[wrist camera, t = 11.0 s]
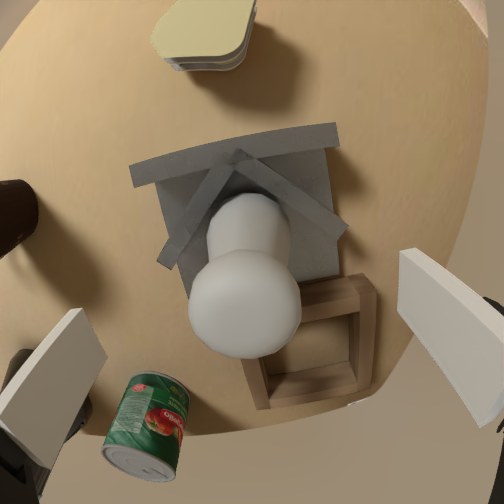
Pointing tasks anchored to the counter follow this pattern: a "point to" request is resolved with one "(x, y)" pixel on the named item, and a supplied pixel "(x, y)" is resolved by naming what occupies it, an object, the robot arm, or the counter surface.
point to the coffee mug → (16, 214)
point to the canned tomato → (148, 427)
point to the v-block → (249, 181)
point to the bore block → (332, 376)
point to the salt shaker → (246, 280)
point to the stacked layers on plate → (205, 34)
